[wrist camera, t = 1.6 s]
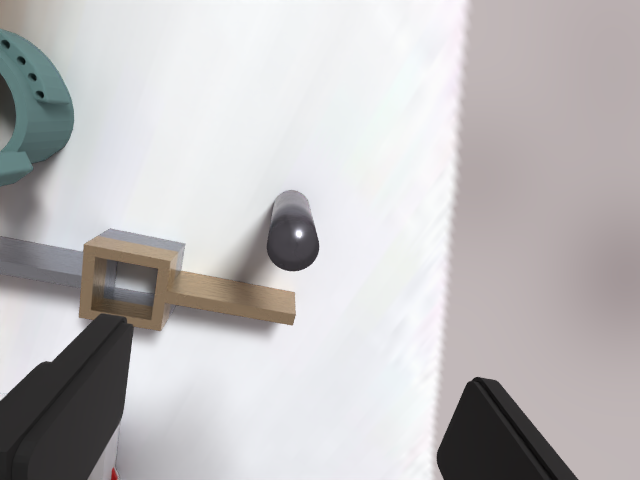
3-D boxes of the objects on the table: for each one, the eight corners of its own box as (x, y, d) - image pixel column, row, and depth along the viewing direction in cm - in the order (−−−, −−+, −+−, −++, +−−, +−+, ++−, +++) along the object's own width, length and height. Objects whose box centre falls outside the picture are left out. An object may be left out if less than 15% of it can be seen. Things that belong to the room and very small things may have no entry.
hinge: (-25, 271, 30) (-71, 293, 26) (-27, 201, 28) (-76, 213, 24) (286, 325, 34) (286, 351, 30) (301, 267, 32) (302, 286, 28)
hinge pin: (277, 186, 30) (273, 216, 20) (313, 194, 30) (324, 228, 21) (270, 221, 31) (262, 265, 21) (304, 228, 31) (312, 275, 22)
